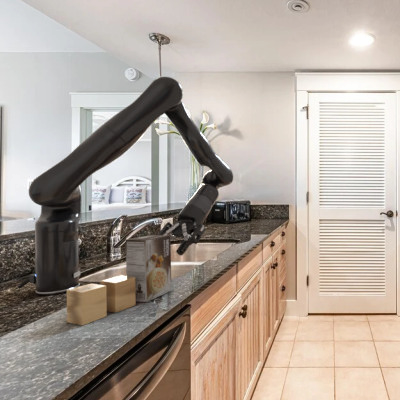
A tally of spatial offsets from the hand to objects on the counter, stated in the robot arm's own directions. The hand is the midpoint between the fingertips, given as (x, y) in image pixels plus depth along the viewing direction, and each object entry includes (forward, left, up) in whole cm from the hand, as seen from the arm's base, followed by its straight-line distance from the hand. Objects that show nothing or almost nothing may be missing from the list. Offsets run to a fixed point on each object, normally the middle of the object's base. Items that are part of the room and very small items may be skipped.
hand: (167, 252), depth 84 cm
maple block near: (0, -21, -11) cm, 24 cm away
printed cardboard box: (0, -6, -11) cm, 12 cm away
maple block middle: (0, -14, -11) cm, 18 cm away
